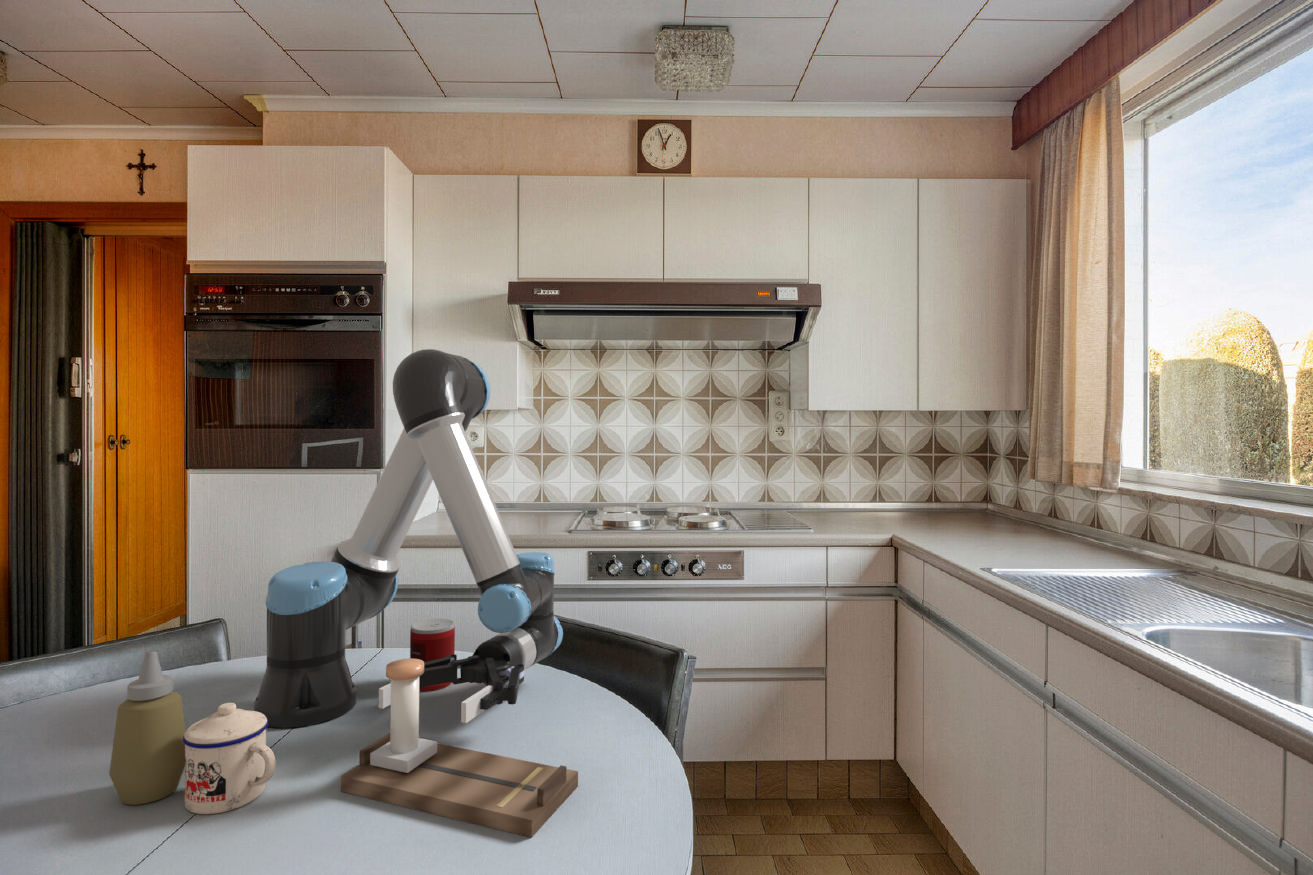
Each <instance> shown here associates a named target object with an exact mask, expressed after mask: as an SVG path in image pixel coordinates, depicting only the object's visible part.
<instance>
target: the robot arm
mask: <svg viewBox="0 0 1313 875" xmlns="http://www.w3.org/2000/svg"><path fill="white" fill-rule="evenodd" d="M392 395H393V400H394V404H395V407H396V408H395V409H396V410H397V413H398V416H399V419H400V420H401V424H402V426H403V429H402V431H401V434H400V436H399V438H398V440H397V442H396V444H395V445H394V448H393V450H392V452H391V454H390V456H389V459H388V460H387V463H386V465H385V466H384V469H383V472H382V473H381V476H380V478H379V480H378V482H377V484H376V486H375V488H374V490H373V492H372V495H371V496H370V499H369V501H368V503H367V504H366V506H365V509H364V511H363V513H362V515H361V517H360V520H359V521H358V523H357V525H356V529H354V532H353V533H352V536H351V538H348V539H345V540H342V541H341V542H339V544H337V547H336V550H335V551H334V554H333V556H332V558H331V560H330V561H327V560H326V561H323V560H322V561H311V562H310V561H309V562H305V563H303V564H296V565H292V566H288V567H286V568H283V569H281V570H279V571H278V572H276V573H274V574H273V576H272V577H271V578H270V580H269V582H268V583H267V584H268V585H267V595H266V598H265V605H266V606H265V607H266V668H265V672H264V674H263V678H262V681H261V684H260V689H259V692H258V695H257V696H256V698H255V699H254V702H253V711H257V712H260V713H262V714H264V715H265V716H266V718H267V720H268V726H267V728H268V727H270V728H278V729H279V728H281V729H282V728H283V729H284V728H285V729H286V728H298V727H300V728H301V727H306V726H311V725H316V724H320V723H324V722H327V721H330V720H333V719H336V718H338V717H341V716H342V715H344V714H346V713H347V712H350V710H352V708H354V706H355V705H356V703H357V689H356V685H355V683H354V681H353V679H352V675H351V671H350V668H349V665H348V662H347V659H346V631H347V630H349V629H351V628H353V627H355V626H357V625H359V624H361V623H363V622H366V621H367V620H369V619H372V618H374V617H376V616H377V615H379V614H381V612H383V611H384V610H385V609H387V607H388V606H389V605H390V604H391V603H392V601H393V600H394V599H395V596H396V595H397V590H398V587H399V578H398V576H397V575H398V572H399V570H400V567H401V565H402V564H401V561H400V559H399V557H398V553H399V551H400V549H401V546H402V545H403V543H404V541H405V538H406V536H407V535H408V533H409V531H410V529H411V526H412V524H413V523H414V519H416V516H417V514H418V512H419V510H420V508H421V506H422V504H423V501H424V499H425V497H426V495H427V493H428V491H429V489H430V487H431V485H432V483H434V485H435V489H436V490H437V492H438V495H439V497H440V499H441V501H442V502H441V503H442V504H443V507H444V508H445V511H446V513H447V516H448V520H449V521H450V523H451V525H452V528H453V530H454V533H455V536H456V537H457V540H458V542H459V545H460V547H461V550H462V552H463V555H464V557H465V560H466V562H467V565H468V567H469V569H470V571H471V573H472V576H473V578H474V581H475V583H476V585H477V589H478V592H479V593H480V595H481V596H480V598H479V601H478V603H477V615H478V618H479V620H480V622H481V623H482V625H483V626H484V627H485V628H486V629H487V630H489V631H491V632H493V633H497V635H494V636H493V637H491V638H489V639H487V640H485V641H484V642H481V644H479V645H478V646H477V647H476V649H475V651H473V654H472V655H470V656H468V657H467V658H460V659H457V657H458V655H457V654H455V653H454V654H451V655H449V656H446V657H444V658H441V659H437V660H433V661H429V662H424V673H423V674H422V675H421V676H419V688H421V687H426V686H432V685H438V684H443V683H449V682H452V683H451V684H453V685H454V686H455V685H460V684H466V683H467V684H468V683H469V684H477V685H478V684H479V685H480V684H481V685H482V684H483V685H485V687H483V688H482V689H481V690H479V691H477V692H475V693H474V694H472V695H471V696H469V697H468V698H466V699H465V700H463V701H461V704H460V706H461V708H460V709H461V710H460V711H461V712H460V714H461V718H460V720H461V721H460V722H461V723H463V724H467V723H469V722H471V721H472V720H473V719H474V718H476V717H477V716H479V715H480V714H482V713H483V712H485V711H487V710H491V708H492V707H494V706H495V705H501V704H504V702H507V704H508V705H515V704H517V700H518V696H519V695H518V694H519V689H520V685H522V683H523V682H524V681H525V671H526V670H528V669H529V668H531V667H533V666H534V665H536V664H537V663H539V662H540V661H543V660H545V659H546V658H548V657H549V656H551V655H552V654H553V652H555V651H556V650H557V649H558V648H559V647H560V645H561V644H562V641H563V638H564V637H563V636H564V632H563V631H564V630H563V627H562V625H561V623H560V621H559V619H558V617H556V616H555V614H554V611H555V610H554V603H555V598H554V594H555V592H554V591H555V575H556V571H555V565H554V558H553V556H552V554H550V553H546V552H541V551H534V552H533V551H531V552H521V553H516V550H515V548H514V545H513V543H512V541H511V538H510V536H509V534H508V531H507V530H506V527H505V524H504V522H503V519H502V516H501V514H500V512H499V510H498V507H497V505H496V502H495V500H494V498H493V496H492V493H491V490H490V488H489V486H488V483H487V481H486V478H485V476H484V474H483V472H482V468H481V467H480V464H479V462H478V458H476V455H475V453H474V450H473V448H472V445H471V443H470V441H469V439H468V438H469V437H468V435H467V433H466V431H467V430H468V427H469V426H470V423H471V421H472V420H473V419H475V418H477V417H479V415H481V414H482V413H483V412H484V411H485V410H486V408H487V405H488V404H489V401H490V398H491V385H490V382H489V379H488V376H487V374H486V372H485V371H484V370H483V368H481V367H480V366H479V365H478V364H477V363H476V362H473V361H472V360H469V359H468V358H467V357H464V356H461V355H456V354H452V353H448V352H447V353H446V352H445V351H441V350H439V349H434V348H433V349H432V348H431V349H430V348H429V349H428V348H426V349H420V350H417V351H414V352H412V353H410V354H409V355H407V356H406V357H404V358H403V359H402V361H401V362H400V363H399V364H398V366H397V368H396V370H395V371H394V375H393V380H392ZM458 669H459V671H460V673H459V674H460V677H458ZM507 683H508V684H507ZM505 684H507V687H504V685H505ZM389 706H391V682H390V683H388V684H386V685H384V686H381V687H380V688H378V708H379V709H385V708H387V707H389Z"/></svg>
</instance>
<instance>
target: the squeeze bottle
mask: <svg viewBox="0 0 1313 875" xmlns="http://www.w3.org/2000/svg"><path fill="white" fill-rule="evenodd" d="M126 688H127V690H126V692H127V693H126V694H127V696H126V697H127V699H125V700H124V701H123V702H122V703H121V704H120V705H119V706H118V707H117V712H116V719H115V727H114V737H113V742H112V749H111V750H112V751H111V758H110V765H109V772H108V773H109V774H108V775H109V777H110V780H111V781H112V783H113V786H114V789H115V790H116V793H117V794H118V795H117V796H118V797H119V799H120V802H121V803H122V804H124V805H132V806H133V805H135V806H136V805H144V804H149V803H151V802H155V801H158V800H161V799H163V798H165V797H166V798H167V796H168V797H169V795H171V794H173V793H174V792H175V791H177V789H178V786H179V784H180V781H181V779H182V776H183V774H184V772H185V744H184V742H183V737H184V734H185V732H186V730H187V729H186V722H185V720H186V719H185V715H184V705H183V697H182V695H181V694H180V693H178V692H176V691H173V690H174V678H173V676H171V675H167V674H165V675H164V674H163V671H162V667H161V663H160V660H159V655H158V652H157V651H148V652H145V654H144V657H143V660H142V664H141V668H140V672H139V675H138V679H136V680H132V681H130V683H129V684H128V685H127V687H126Z"/></svg>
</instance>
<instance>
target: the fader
mask: <svg viewBox="0 0 1313 875" xmlns="http://www.w3.org/2000/svg"><path fill="white" fill-rule="evenodd" d="M423 673H424V661H422V660H420V659H410V658H403V659H402V658H401V659H396V660H394V661H391V662H389V663H387V665H386V666H385V677H386V678H387V679H388V680H390V683H391V705H390V728H389V729H390V732H389V733H390V742H388V743H387V744H385V745H384V746H382V747H380V748H379V749H377V750H375V751H374V752H372V753H370V765H373V766H378V767H383V768H387V769H392V770H396V771H401V772H405V773H408V772H410V771H411V770H412V769H414V768H415V767H417V766H418V765H420V764H421V763H423V762H424V761H425V760H427V759H428V758H430V757H431V756H433V755H434V754H436V753H437V743H438V741H436V740H431V739H426V738H421V737H420V731H419V730H420V691H419V676H421V675H422V674H423Z"/></svg>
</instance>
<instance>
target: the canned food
mask: <svg viewBox="0 0 1313 875" xmlns="http://www.w3.org/2000/svg"><path fill="white" fill-rule="evenodd" d="M455 627H456V626H455V621H454V620H452V619H448V618H429V619H423V620H419V621H416V622H413V623H412V624H411V625H410V630H409V633H410V635H409V636H410V638H409V652H410V653H409V659H420V660H422V661H424V662H429V661H433V660H437V659H441V658H444V657H446V656H449V655H451V654H455V650H456V649H455V647H456V645H455V642H456V640H455V639H456V637H455V636H456V628H455ZM452 684H453V683H452V682H449V683H443V684H438V685H432V686H426V687H421V688H419V692H432V691H437V690H438V691H439V690H442V689H445V688H447V687H449V686H451V685H452Z"/></svg>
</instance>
